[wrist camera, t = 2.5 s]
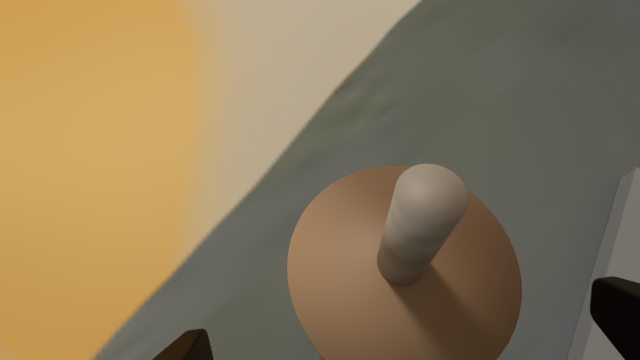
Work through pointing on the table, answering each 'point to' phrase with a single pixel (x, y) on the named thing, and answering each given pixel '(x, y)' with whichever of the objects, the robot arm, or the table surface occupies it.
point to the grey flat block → (612, 267)
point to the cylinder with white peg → (403, 269)
